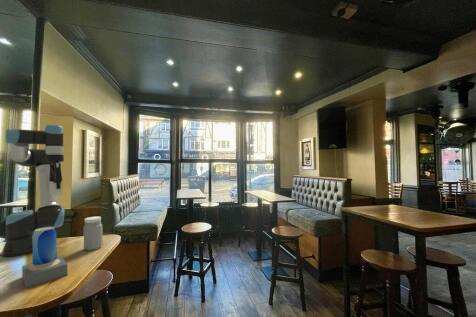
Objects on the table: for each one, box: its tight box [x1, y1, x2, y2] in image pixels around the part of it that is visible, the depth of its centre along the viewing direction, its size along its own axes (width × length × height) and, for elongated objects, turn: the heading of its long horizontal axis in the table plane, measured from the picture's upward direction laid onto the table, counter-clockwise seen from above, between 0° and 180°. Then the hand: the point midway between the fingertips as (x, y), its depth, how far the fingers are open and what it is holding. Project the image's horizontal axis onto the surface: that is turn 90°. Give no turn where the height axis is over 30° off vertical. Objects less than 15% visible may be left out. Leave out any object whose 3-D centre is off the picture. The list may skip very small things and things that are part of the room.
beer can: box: [31, 227, 58, 267], centre depth 104 cm, size 8×8×16 cm
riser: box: [21, 255, 68, 289], centre depth 103 cm, size 14×14×5 cm
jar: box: [82, 215, 104, 252], centre depth 136 cm, size 10×10×18 cm
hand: (55, 194), depth 121 cm, fingers open, 13 cm apart
